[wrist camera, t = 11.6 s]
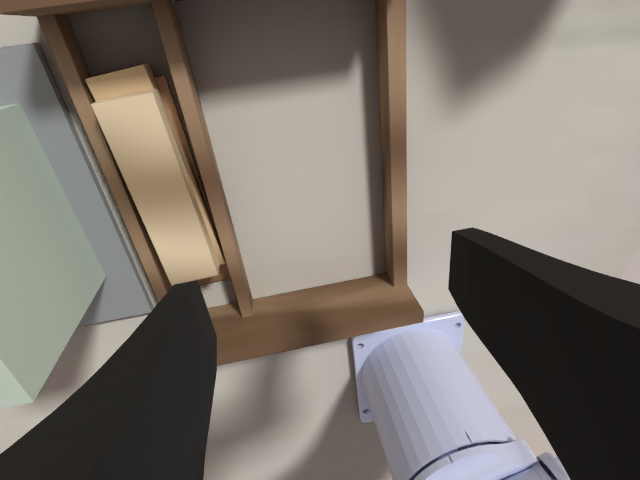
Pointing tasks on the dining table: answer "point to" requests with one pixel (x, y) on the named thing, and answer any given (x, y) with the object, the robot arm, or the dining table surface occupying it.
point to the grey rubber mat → (74, 181)
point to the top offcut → (158, 183)
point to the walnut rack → (247, 314)
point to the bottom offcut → (175, 118)
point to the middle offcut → (144, 80)
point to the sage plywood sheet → (37, 263)
